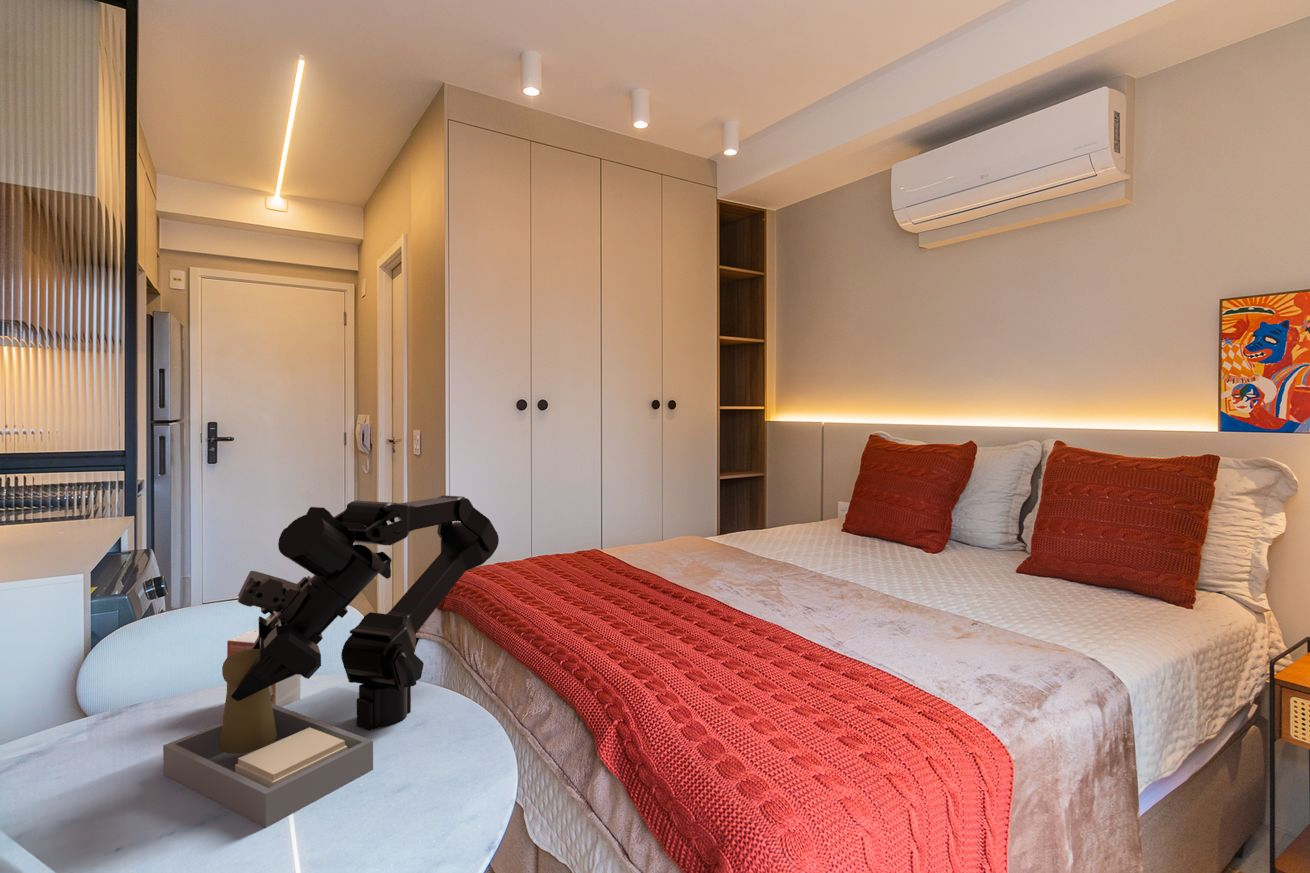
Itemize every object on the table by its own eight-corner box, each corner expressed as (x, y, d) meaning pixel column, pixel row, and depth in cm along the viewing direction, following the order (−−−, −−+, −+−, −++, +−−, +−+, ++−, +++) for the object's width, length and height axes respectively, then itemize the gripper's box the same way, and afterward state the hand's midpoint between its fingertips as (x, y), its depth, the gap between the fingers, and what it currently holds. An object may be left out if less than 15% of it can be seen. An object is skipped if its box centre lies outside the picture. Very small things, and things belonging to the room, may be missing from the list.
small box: (225, 712, 97) (225, 640, 97) (254, 696, 103) (254, 628, 102) (275, 717, 96) (275, 644, 95) (301, 700, 101) (301, 631, 101)
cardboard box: (310, 757, 83) (310, 726, 83) (347, 772, 80) (347, 740, 79) (235, 793, 75) (235, 758, 75) (273, 811, 72) (272, 775, 72)
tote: (272, 736, 90) (272, 703, 90) (373, 777, 80) (373, 740, 80) (163, 782, 79) (163, 745, 78) (265, 837, 69) (265, 794, 69)
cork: (250, 756, 78) (249, 665, 78) (206, 750, 80) (204, 659, 79) (288, 731, 84) (287, 645, 84) (247, 725, 85) (245, 641, 85)
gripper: (279, 534, 91) (181, 628, 85) (286, 563, 75) (167, 681, 69) (343, 584, 95) (254, 676, 90) (363, 621, 79) (257, 736, 74)
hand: (234, 690), depth 81 cm, fingers closed on cork, 5 cm apart
